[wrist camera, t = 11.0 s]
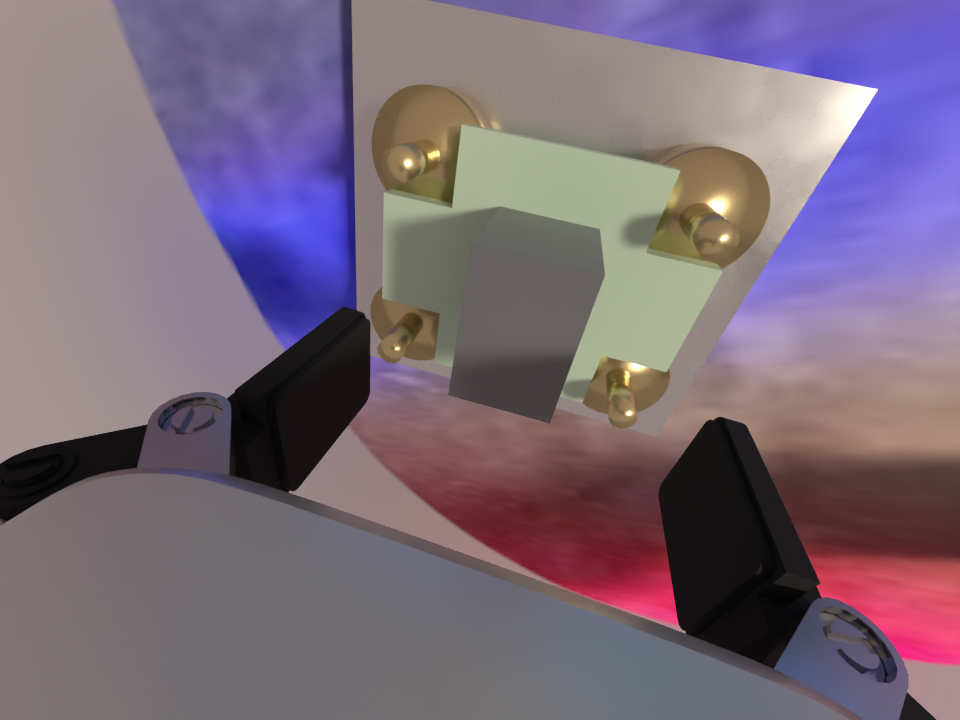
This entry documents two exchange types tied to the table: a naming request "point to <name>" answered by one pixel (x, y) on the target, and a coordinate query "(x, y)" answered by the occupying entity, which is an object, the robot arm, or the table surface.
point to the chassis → (596, 126)
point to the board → (564, 190)
